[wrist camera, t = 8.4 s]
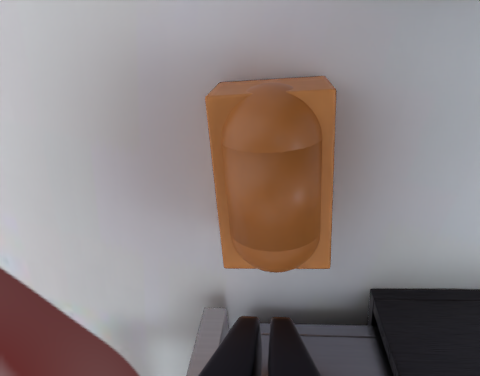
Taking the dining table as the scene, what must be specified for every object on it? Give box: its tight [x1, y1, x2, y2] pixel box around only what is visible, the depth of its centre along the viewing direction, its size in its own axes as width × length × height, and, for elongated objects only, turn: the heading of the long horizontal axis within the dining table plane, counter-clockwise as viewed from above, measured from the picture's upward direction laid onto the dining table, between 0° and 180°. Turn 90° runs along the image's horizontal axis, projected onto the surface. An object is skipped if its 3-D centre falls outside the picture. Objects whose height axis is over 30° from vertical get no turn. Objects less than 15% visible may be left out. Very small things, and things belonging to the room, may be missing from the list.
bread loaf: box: [205, 76, 336, 272], centre depth 14 cm, size 8×4×4 cm, turn 4°
